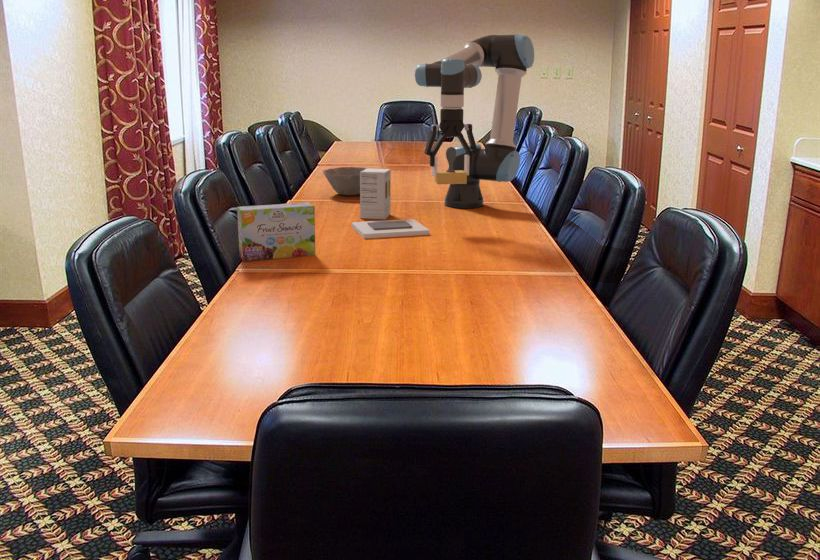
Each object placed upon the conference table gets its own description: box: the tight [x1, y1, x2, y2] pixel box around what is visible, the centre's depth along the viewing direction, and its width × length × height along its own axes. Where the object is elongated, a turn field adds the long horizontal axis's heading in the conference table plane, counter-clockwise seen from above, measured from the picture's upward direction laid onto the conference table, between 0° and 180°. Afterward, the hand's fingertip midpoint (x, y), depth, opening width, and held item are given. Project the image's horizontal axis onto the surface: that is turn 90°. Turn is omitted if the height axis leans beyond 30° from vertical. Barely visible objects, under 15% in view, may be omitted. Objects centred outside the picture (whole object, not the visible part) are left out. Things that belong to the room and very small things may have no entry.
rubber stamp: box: [434, 146, 467, 185], centre depth 250 cm, size 10×6×12 cm, turn 97°
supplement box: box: [359, 168, 392, 221], centre depth 269 cm, size 10×9×17 cm
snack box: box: [236, 202, 316, 262], centre depth 215 cm, size 21×6×15 cm, turn 114°
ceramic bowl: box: [322, 166, 370, 196], centre depth 313 cm, size 22×23×10 cm
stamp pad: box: [350, 218, 430, 240], centre depth 250 cm, size 22×18×2 cm
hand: (450, 175), depth 251 cm, fingers closed on rubber stamp, 11 cm apart
